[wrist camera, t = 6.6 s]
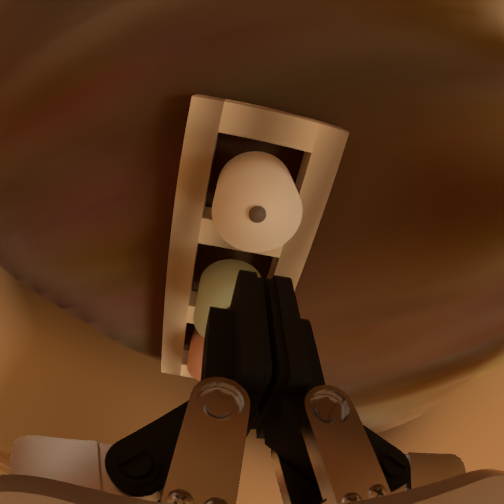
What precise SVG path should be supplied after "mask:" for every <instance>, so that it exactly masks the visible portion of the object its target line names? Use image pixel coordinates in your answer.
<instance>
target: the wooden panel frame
mask: <svg viewBox="0 0 504 504" xmlns="http://www.w3.org/2000/svg"><path fill="white" fill-rule="evenodd" d="M219 133H225V134H230V135H235V136H240V137H245V138H250V139H254V140H259V141H264V142H268V143H273V144H277V145H281V146H286V147H290V148H294V149H298V150H302V151H304V155H303V158H302V162H301V165H300V169H299V172H298V176H297V179H296V182H295V186H296V189H297V191H298V193H299V196H300V199H301V202H302V219H301V223H300V225H299V228H298V229H297V231H296V233H295V234H294V235H293V237H292V238H291V239H290V240H289V241H287V242H286V243H285V244H283V245H282V246H280V247H278V248H276V249H273V250H270V251H266V252H250V253H256V254H261V255H267V256H272V257H273V259H272V262H271V265H270V269H269V272H268V275H267V278H268V279H272V277H273V276H274V275H277V276H283V277H290V278H291V279H292V283H293V287H294V291H295V288H296V286H297V283H298V281H299V278H300V275H301V273H302V270H303V267H304V264H305V262H306V259H307V256H308V254H309V251H310V248H311V245H312V243H313V240H314V237H315V234H316V231H317V229H318V226H319V223H320V220H321V217H322V214H323V211H324V209H325V206H326V203H327V200H328V197H329V194H330V191H331V188H332V185H333V182H334V179H335V176H336V173H337V170H338V167H339V164H340V161H341V157H342V154H343V151H344V148H345V145H346V142H347V139H348V135H349V132H348V131H346V130H345V129H343V128H341V127H339V126H335V125H332V124H329V123H325V122H322V121H318V120H315V119H311V118H308V117H304V116H300V115H296V114H292V113H289V112H285V111H280V110H276V109H272V108H268V107H263V106H259V105H254V104H249V103H245V102H240V101H234V100H229V99H224V98H218V97H212V96H206V95H200V94H195V95H193V96H192V98H191V103H190V108H189V113H188V119H187V124H186V130H185V136H184V142H183V148H182V154H181V160H180V167H179V174H178V180H177V188H176V195H175V203H174V210H173V219H172V227H171V236H170V245H169V255H168V266H167V277H166V289H165V303H164V319H163V337H162V361H161V372H163V373H169V374H174V375H180V376H185V377H191V378H193V377H192V376H191V375H190V374H189V372H188V370H187V362H188V355H189V350H184V343H185V335H186V327H187V323H191V324H194V321H193V317H194V311H195V305H196V299H197V293H198V291H192V283H193V277H194V270H195V263H196V257H197V250H198V244H199V243H200V244H206V245H211V246H217V247H222V248H228V249H234V250H239V251H243V250H240V249H237V248H235V247H233V246H231V245H230V244H228V243H227V242H226V241H225V240H224V239H223V238H222V237H221V236H220V235H219V233H218V232H217V230H216V228H215V226H214V223H213V220H212V208H211V207H206V206H205V203H206V197H207V192H208V186H209V181H210V175H211V170H212V165H213V160H214V155H215V150H216V145H217V140H218V135H219ZM245 252H247V251H245ZM267 278H266V279H267Z"/></svg>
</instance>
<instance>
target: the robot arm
mask: <svg viewBox="0 0 504 504" xmlns="http://www.w3.org/2000/svg"><path fill="white" fill-rule="evenodd" d="M250 429H256V433H257V438H264V439H265V444H266V445H267V446H268V447H269V448H271V457H272V461H273V465H274V469H275V473H276V477H277V481H278V485H279V488H280V492H281V496H282V500H283V503H284V504H504V471H501V470H495V469H482V470H476V471H471V472H468V473H466V471H465V466H464V463H463V462H462V460H461V459H460V458H459V457H457V456H456V455H453V454H436V453H414V452H409V453H408V454H403V453H402V452H401V451H400V450H399V449H397V448H396V447H394V446H393V445H391V444H390V443H388V442H387V441H386V440H384V439H383V438H381V437H380V436H378V435H377V434H375V433H374V432H373V431H371V430H370V429H368V428H367V427H366V426H364V425H363V424H362V422H361V420H360V417H359V415H358V413H357V410H356V408H355V406H354V404H353V402H352V400H351V398H350V397H349V396H348V395H347V394H346V393H345V392H344V391H342V390H341V389H339V388H337V387H334V386H330V385H325V382H324V377H323V373H322V369H321V365H320V360H319V356H318V352H317V348H316V344H315V340H314V336H313V332H312V327H311V324H310V321H309V320H306V319H301V318H300V314H299V309H298V305H297V300H296V296H295V292H294V287H293V283H292V279H291V278H290V277H283V276H277V275H274V276H273V277H272V279H268V278H267V279H266V281H265V284H264V285H263V278H261V277H257V272H252V271H246V270H239V272H238V276H237V280H236V284H235V288H234V292H233V296H232V300H231V304H230V308H229V309H224V308H218V307H211V306H210V309H209V314H208V319H207V325H206V331H205V338H204V347H203V357H202V369H201V381H200V382H199V383H198V384H197V385H195V386H194V388H193V390H192V392H191V395H190V399H189V400H188V401H187V402H185V403H184V404H182V405H180V406H179V407H177V408H175V409H174V410H172V411H170V412H169V413H167V414H165V415H164V416H162V417H160V418H159V419H157V420H155V421H154V422H152V423H150V424H148V425H146V426H145V427H143V428H141V429H139V430H138V431H136V432H134V433H132V434H130V435H129V436H127V437H125V438H123V439H121V440H120V441H118V442H116V443H115V444H98V441H86V440H71V439H60V438H52V437H43V436H36V435H25V436H22V437H20V438H18V439H17V440H16V441H15V442H14V444H13V445H12V449H11V452H10V471H9V474H8V475H5V474H3V475H0V504H236V500H237V494H238V487H239V481H240V474H241V468H242V461H243V454H244V447H245V440H246V437H247V435H248V433H249V432H250Z"/></svg>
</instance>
